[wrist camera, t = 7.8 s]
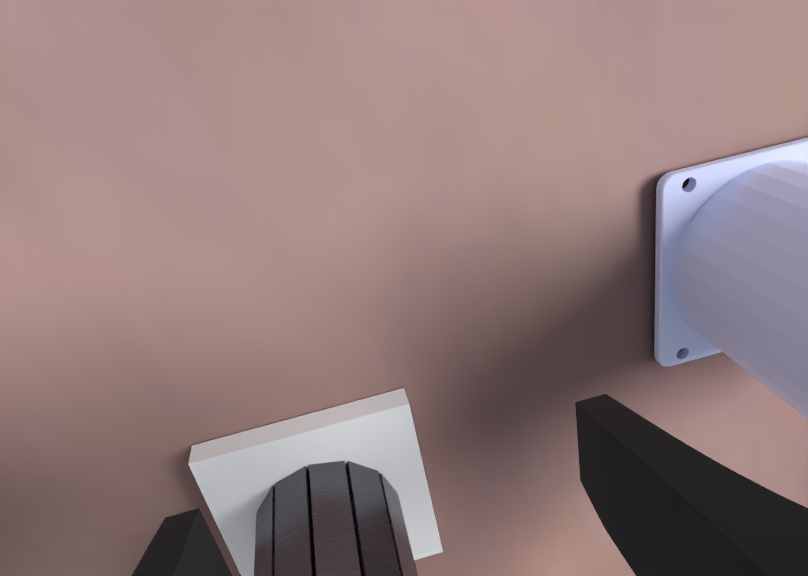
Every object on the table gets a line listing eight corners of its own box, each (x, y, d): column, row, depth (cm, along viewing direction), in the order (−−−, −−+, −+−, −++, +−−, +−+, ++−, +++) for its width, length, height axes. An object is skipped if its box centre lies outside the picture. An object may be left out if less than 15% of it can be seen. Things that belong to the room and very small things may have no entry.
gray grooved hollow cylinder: (398, 454, 22) (428, 565, 18) (397, 556, 25) (423, 676, 20) (251, 471, 21) (244, 593, 17) (263, 575, 24) (260, 707, 19)
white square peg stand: (404, 388, 22) (434, 482, 18) (437, 533, 26) (470, 642, 21) (192, 445, 22) (169, 559, 17) (256, 586, 25) (252, 710, 21)
